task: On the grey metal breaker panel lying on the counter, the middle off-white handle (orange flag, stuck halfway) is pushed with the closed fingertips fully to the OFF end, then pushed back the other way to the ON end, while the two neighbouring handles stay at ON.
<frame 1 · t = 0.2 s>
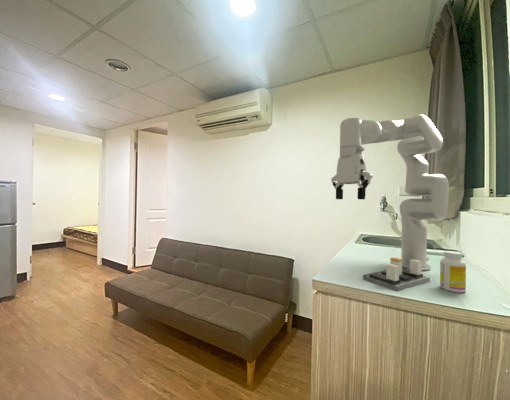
hand: (349, 199, 83), 31 cm above the worktop, fingers open, 9 cm apart
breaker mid: (396, 266, 86), point 5 cm above the worktop, slide at 3.0 cm
breaker 2: (415, 266, 87), point 5 cm above the worktop, slide at 0.0 cm
supplement bottle: (452, 289, 78), on the worktop
breaker 1: (392, 272, 80), point 5 cm above the worktop, slide at 0.0 cm
panel: (396, 280, 86), on the worktop
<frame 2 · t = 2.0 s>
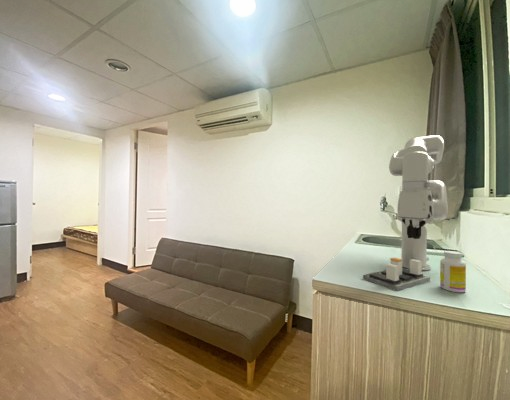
hand: (413, 237, 81), 17 cm above the worktop, fingers closed
nothing on the worktop moved.
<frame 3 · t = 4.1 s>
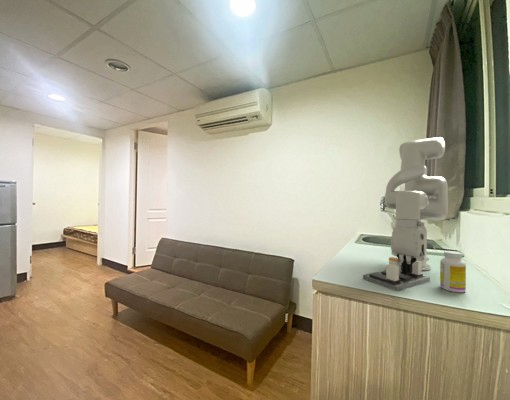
hand: (406, 273, 83), 4 cm above the worktop, fingers closed
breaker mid: (394, 265, 87), point 5 cm above the worktop, slide at 2.4 cm, touching gripper
everything else where it was.
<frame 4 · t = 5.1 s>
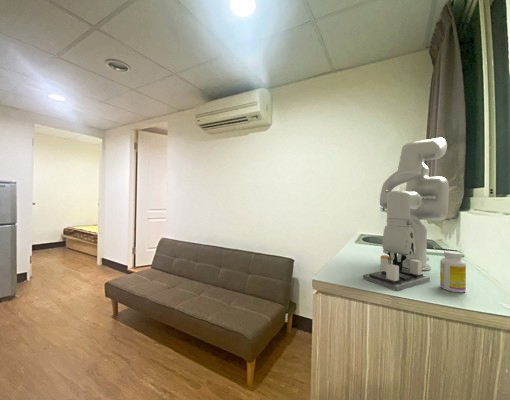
hand: (397, 271, 86), 4 cm above the worktop, fingers closed
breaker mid: (386, 263, 90), point 5 cm above the worktop, slide at -1.0 cm, touching gripper
everything else where it was.
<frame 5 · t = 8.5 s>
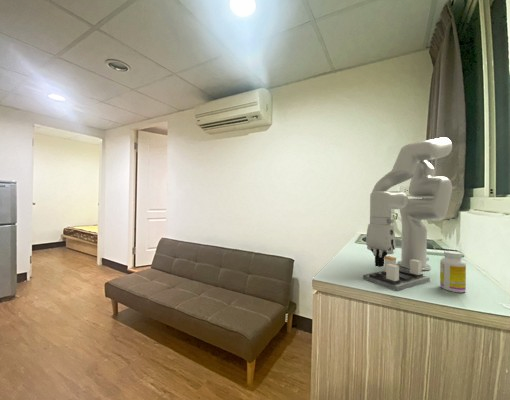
hand: (379, 266, 92), 4 cm above the worktop, fingers closed
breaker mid: (390, 264, 88), point 5 cm above the worktop, slide at 0.6 cm, touching gripper
everything else where it was.
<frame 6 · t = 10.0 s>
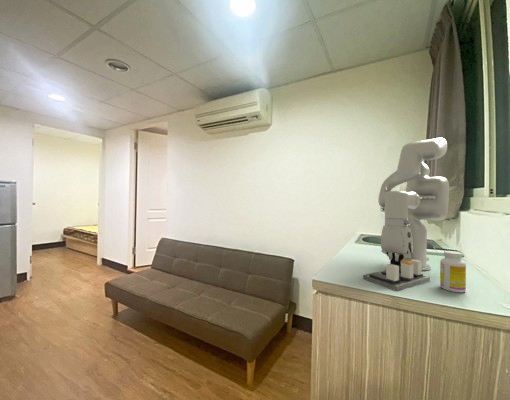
hand: (395, 270, 87), 4 cm above the worktop, fingers closed
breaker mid: (407, 269, 83), point 5 cm above the worktop, slide at 6.9 cm, touching gripper
everything else where it was.
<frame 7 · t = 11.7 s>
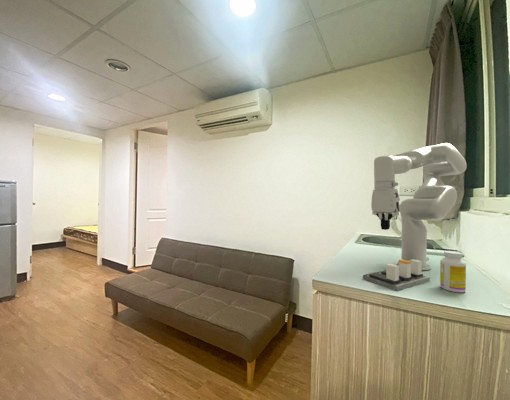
hand: (385, 229, 95), 18 cm above the worktop, fingers closed
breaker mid: (404, 268, 84), point 5 cm above the worktop, slide at 6.1 cm
everything else where it was.
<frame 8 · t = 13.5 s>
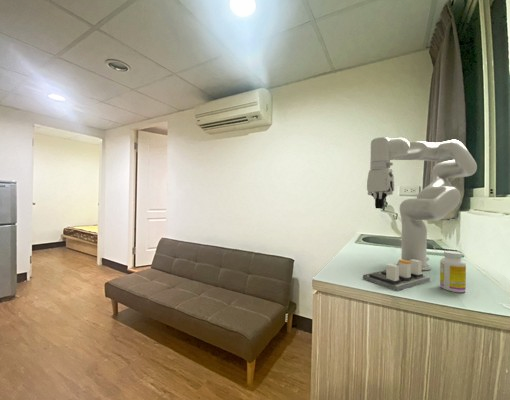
hand: (379, 208, 99), 27 cm above the worktop, fingers closed
nothing on the worktop moved.
at the end: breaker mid slide at 6.1 cm; breaker 2 slide at 0.0 cm; breaker 1 slide at 0.0 cm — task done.
